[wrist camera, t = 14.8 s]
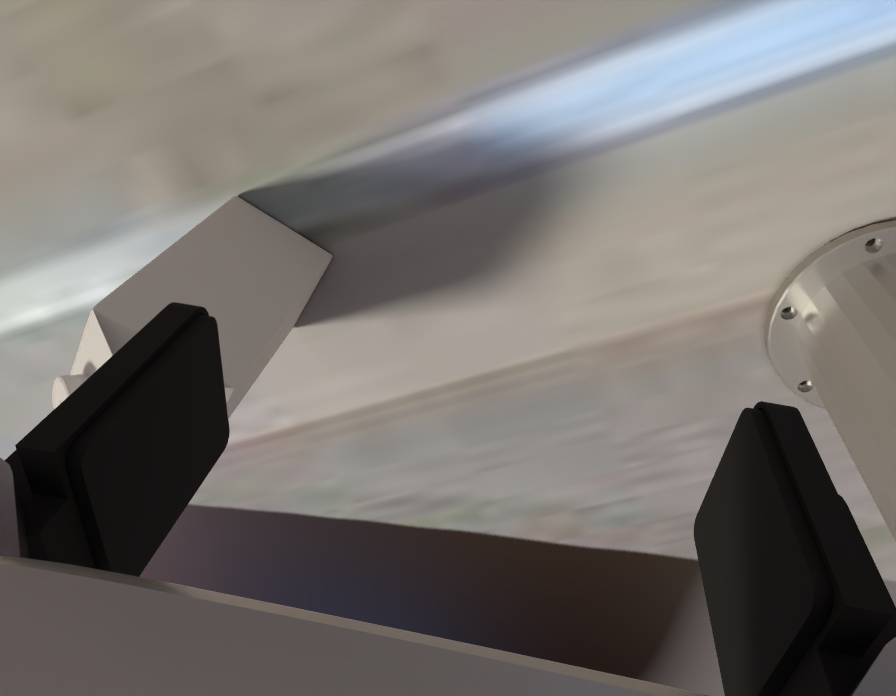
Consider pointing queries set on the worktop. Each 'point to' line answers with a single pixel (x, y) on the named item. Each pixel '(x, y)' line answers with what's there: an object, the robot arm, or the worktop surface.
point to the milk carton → (213, 295)
